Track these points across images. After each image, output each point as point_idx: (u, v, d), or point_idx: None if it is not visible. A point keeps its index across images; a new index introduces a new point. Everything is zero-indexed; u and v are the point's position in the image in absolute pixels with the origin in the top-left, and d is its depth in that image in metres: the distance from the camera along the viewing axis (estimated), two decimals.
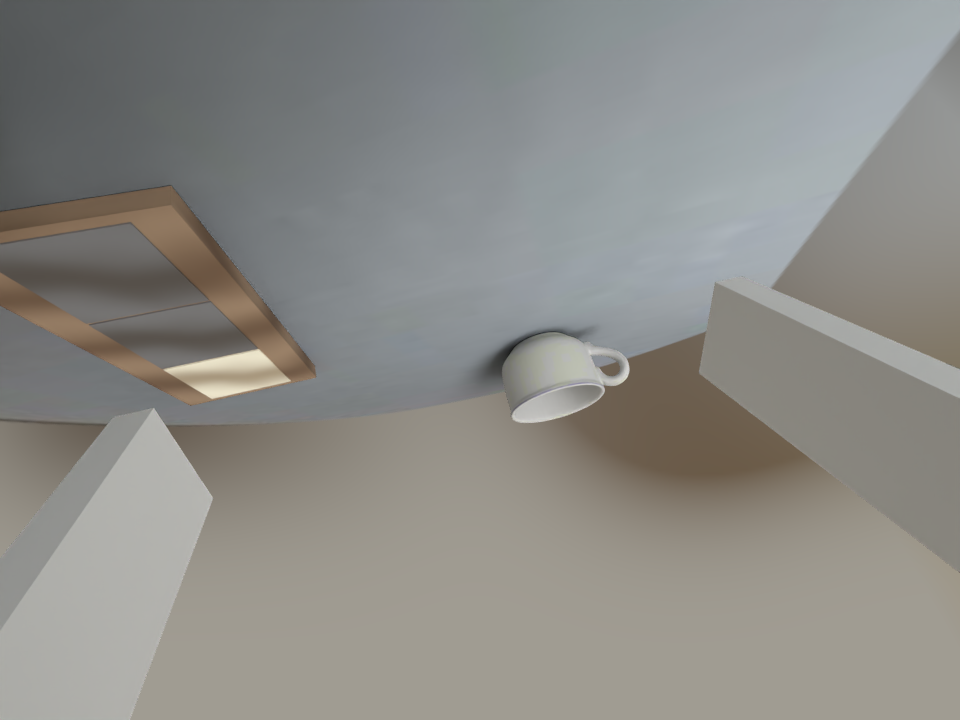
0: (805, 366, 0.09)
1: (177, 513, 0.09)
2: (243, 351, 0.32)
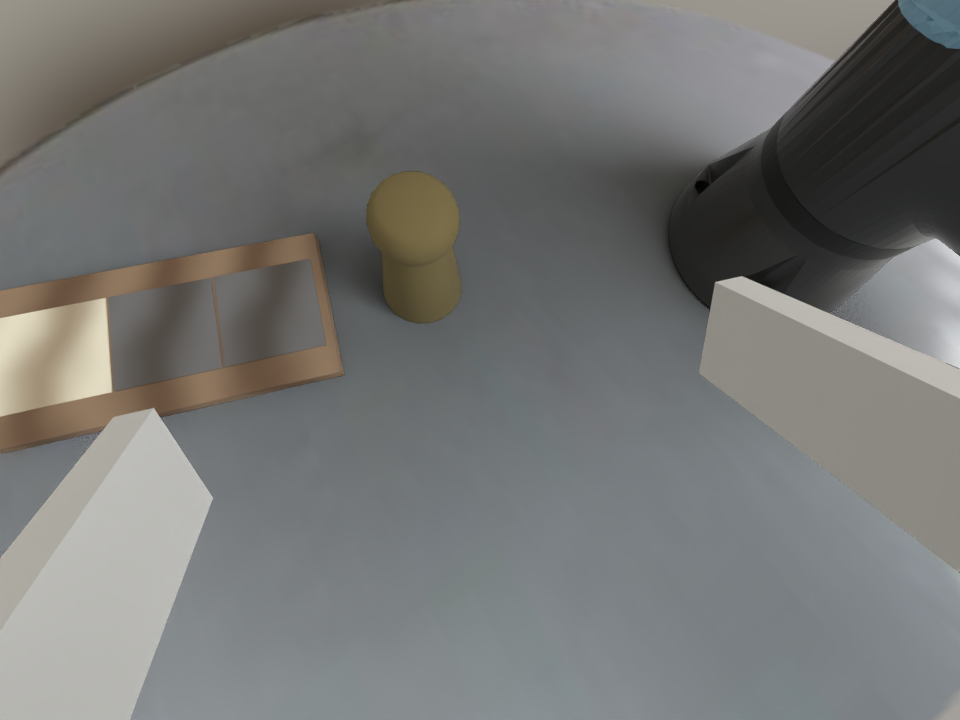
0: (805, 365, 0.09)
1: (177, 513, 0.09)
2: (113, 376, 0.29)
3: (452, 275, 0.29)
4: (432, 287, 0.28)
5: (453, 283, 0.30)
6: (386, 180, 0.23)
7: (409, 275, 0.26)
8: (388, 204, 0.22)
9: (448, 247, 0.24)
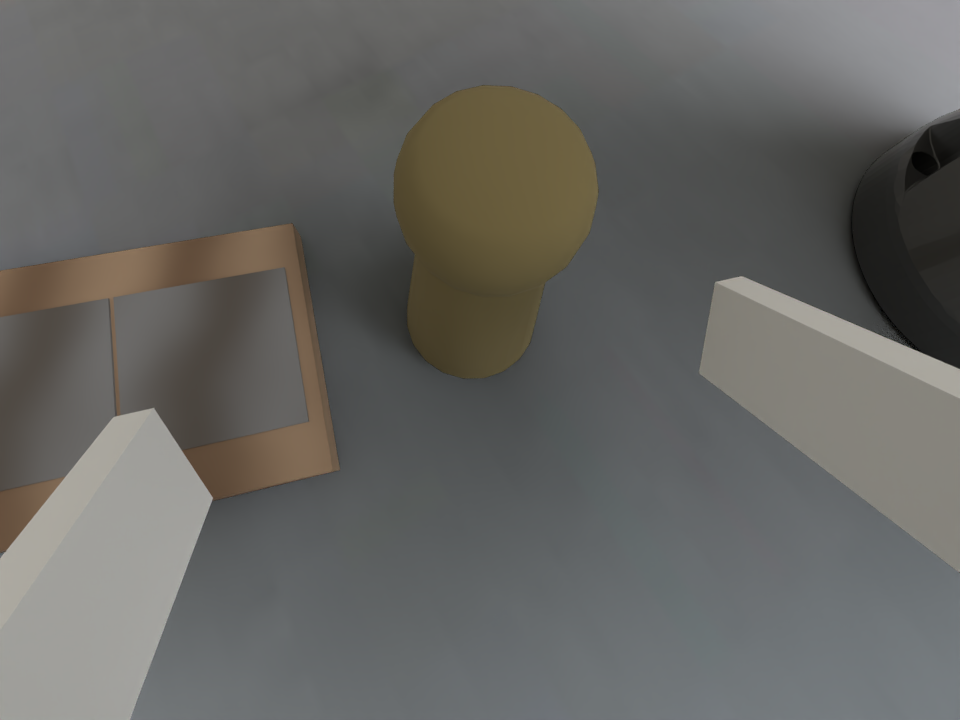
0: (805, 366, 0.09)
1: (177, 513, 0.09)
2: None
3: (539, 305, 0.16)
4: (508, 328, 0.15)
5: (535, 317, 0.17)
6: (442, 102, 0.10)
7: (471, 309, 0.13)
8: (449, 154, 0.09)
9: None
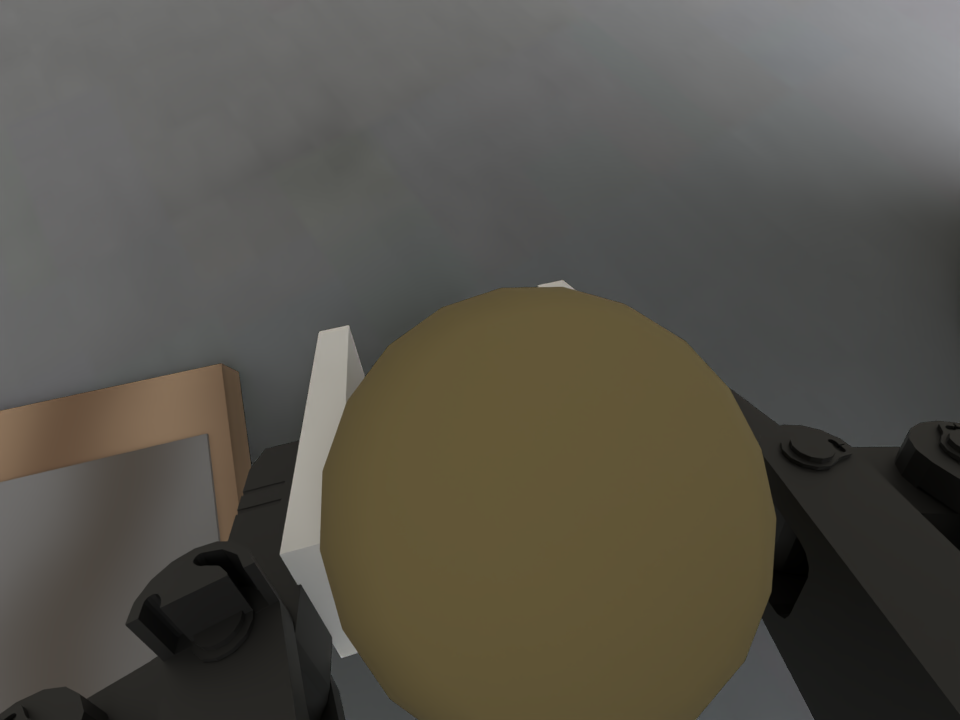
0: None
1: None
2: None
3: None
4: None
5: None
6: (422, 351, 0.04)
7: None
8: (440, 526, 0.04)
9: None
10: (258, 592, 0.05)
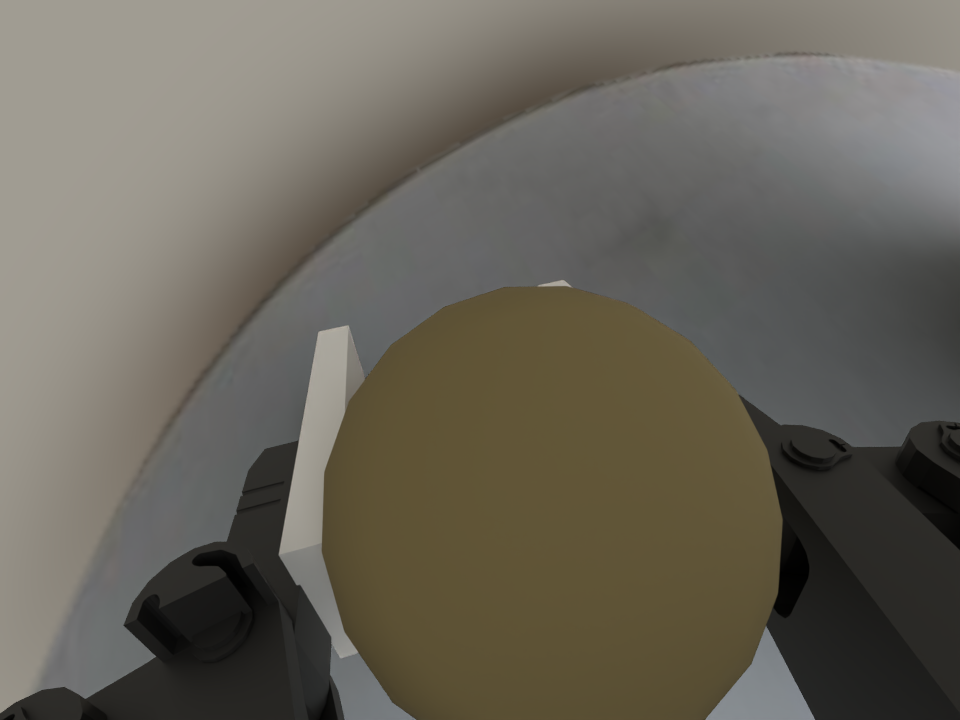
0: None
1: None
2: None
3: None
4: None
5: None
6: (426, 352, 0.04)
7: None
8: (443, 527, 0.04)
9: None
10: (257, 592, 0.05)
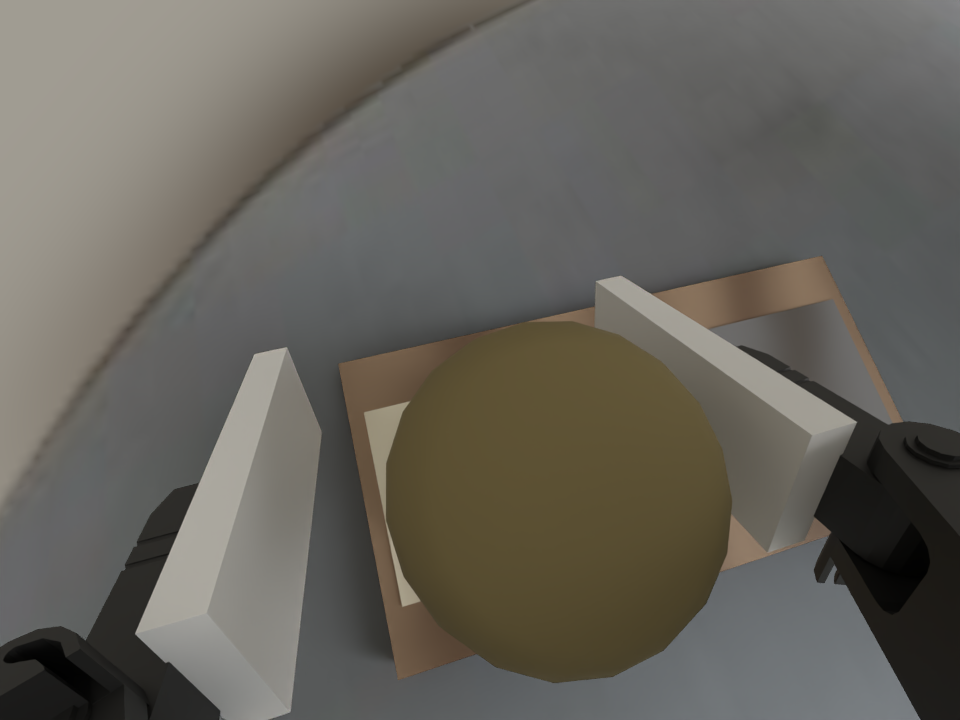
0: None
1: (307, 435, 0.10)
2: None
3: None
4: None
5: None
6: (468, 374, 0.06)
7: None
8: (487, 501, 0.05)
9: None
10: None
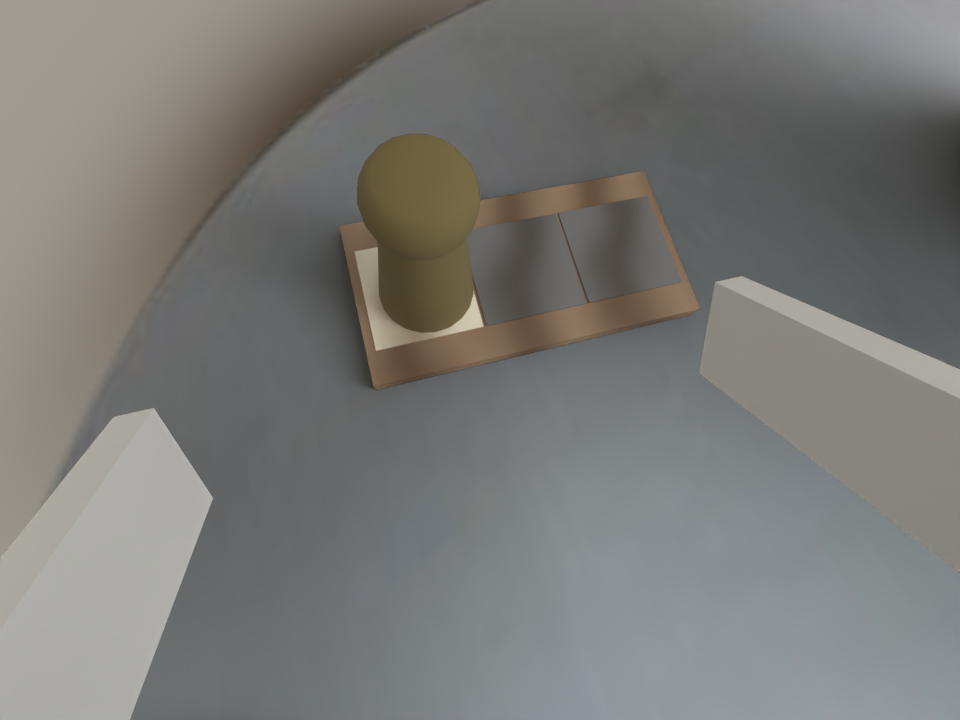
0: (804, 366, 0.09)
1: (177, 513, 0.09)
2: (482, 310, 0.27)
3: (465, 273, 0.23)
4: (441, 288, 0.22)
5: (466, 284, 0.24)
6: (383, 144, 0.17)
7: (412, 272, 0.20)
8: (386, 175, 0.17)
9: (465, 235, 0.18)
10: None
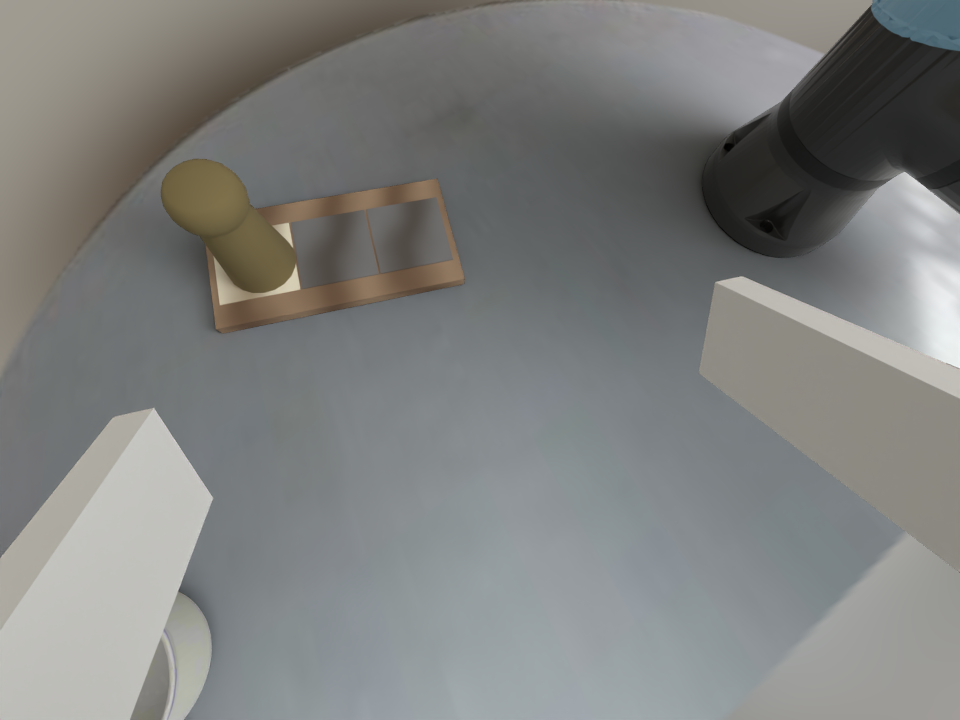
0: (804, 366, 0.09)
1: (177, 513, 0.09)
2: (300, 278, 0.38)
3: (267, 249, 0.34)
4: (245, 258, 0.33)
5: (273, 257, 0.35)
6: (176, 165, 0.28)
7: (216, 246, 0.32)
8: (173, 184, 0.28)
9: (233, 221, 0.29)
10: None
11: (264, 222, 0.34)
